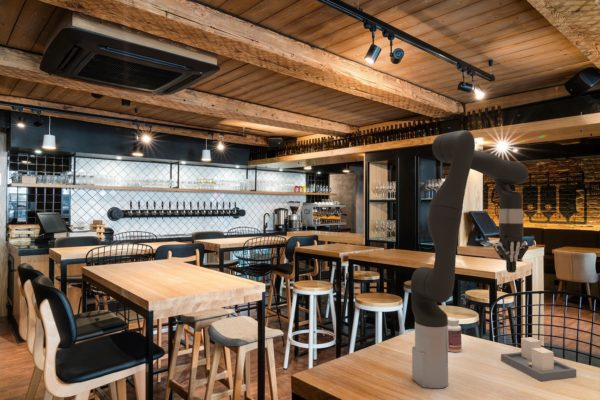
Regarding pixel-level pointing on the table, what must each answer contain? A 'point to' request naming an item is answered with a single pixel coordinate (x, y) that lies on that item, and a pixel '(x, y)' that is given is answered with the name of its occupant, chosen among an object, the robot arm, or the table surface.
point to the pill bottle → (454, 335)
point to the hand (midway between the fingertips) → (511, 272)
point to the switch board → (526, 367)
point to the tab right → (542, 359)
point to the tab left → (529, 346)
